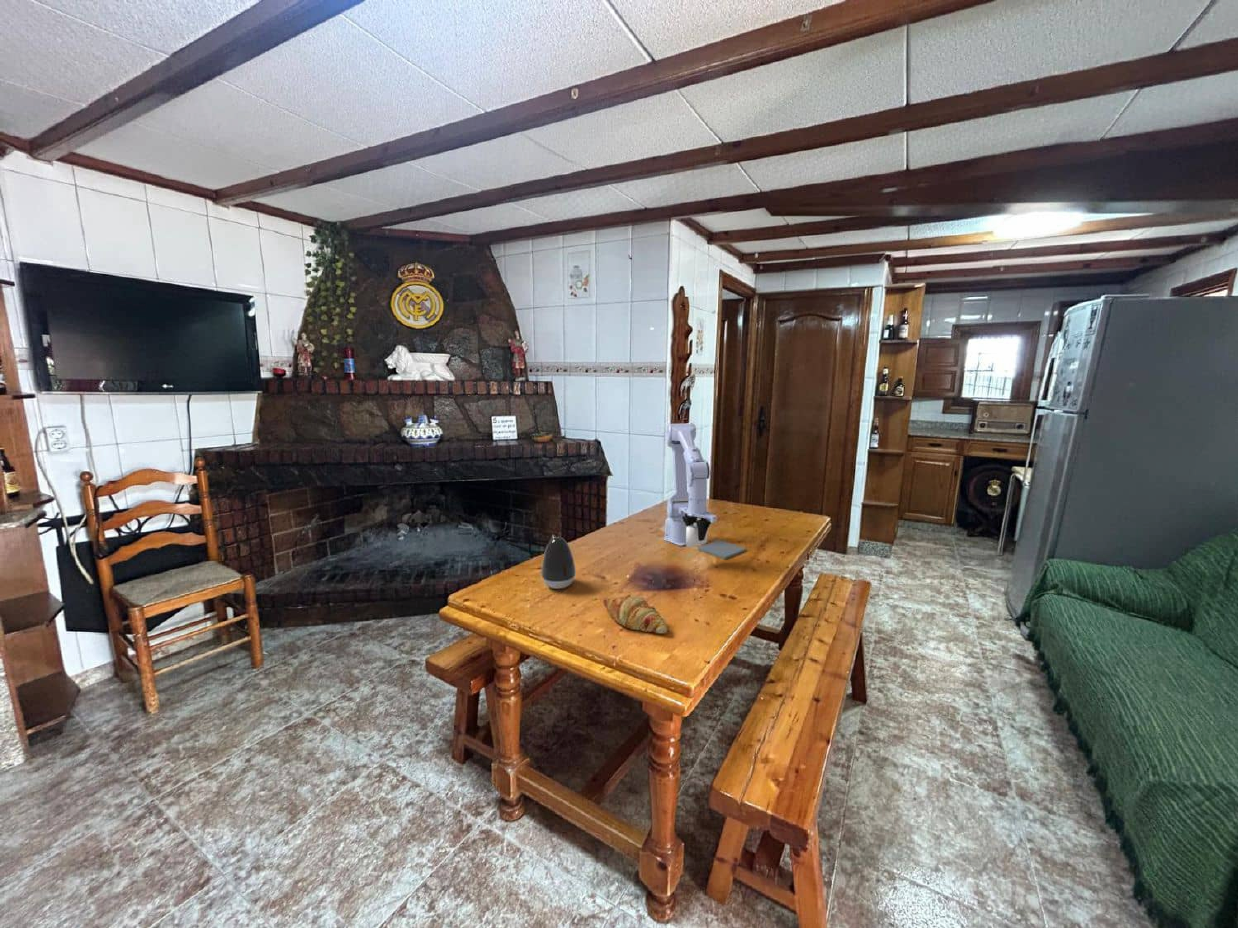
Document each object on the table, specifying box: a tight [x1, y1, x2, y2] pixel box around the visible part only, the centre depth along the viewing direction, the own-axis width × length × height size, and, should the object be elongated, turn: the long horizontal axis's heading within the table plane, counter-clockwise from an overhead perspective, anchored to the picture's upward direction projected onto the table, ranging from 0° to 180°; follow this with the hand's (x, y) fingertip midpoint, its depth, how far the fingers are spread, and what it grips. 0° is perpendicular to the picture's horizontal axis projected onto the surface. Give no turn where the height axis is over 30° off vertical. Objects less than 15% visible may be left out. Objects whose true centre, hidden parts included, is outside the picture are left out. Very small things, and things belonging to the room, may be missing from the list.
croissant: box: [603, 594, 668, 634], centre depth 129 cm, size 21×10×8 cm, turn 48°
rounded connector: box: [685, 523, 708, 548], centre depth 164 cm, size 4×9×7 cm, turn 130°
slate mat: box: [697, 539, 747, 560], centre depth 177 cm, size 12×12×1 cm
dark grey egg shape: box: [541, 534, 577, 590], centre depth 150 cm, size 10×10×15 cm
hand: (696, 538), depth 164 cm, fingers closed on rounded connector, 4 cm apart
